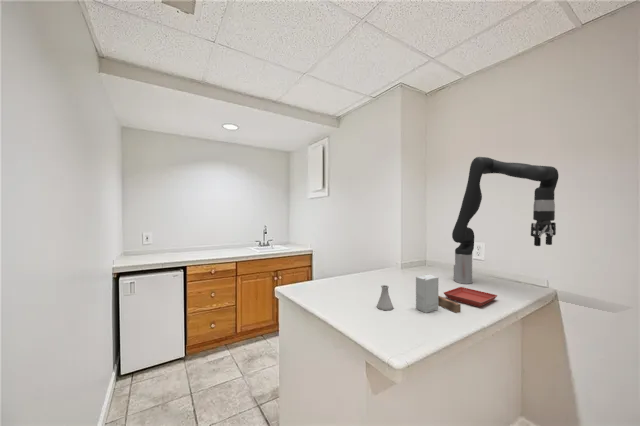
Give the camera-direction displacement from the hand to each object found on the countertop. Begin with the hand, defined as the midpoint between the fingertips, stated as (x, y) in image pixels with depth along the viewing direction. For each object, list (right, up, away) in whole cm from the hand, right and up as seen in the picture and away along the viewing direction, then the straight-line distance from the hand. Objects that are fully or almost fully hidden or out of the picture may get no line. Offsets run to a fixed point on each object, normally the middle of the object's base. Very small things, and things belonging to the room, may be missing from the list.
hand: (543, 245), depth 123 cm
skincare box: (-55, -29, -3) cm, 62 cm away
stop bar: (-46, -28, +2) cm, 54 cm away
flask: (-73, -29, -1) cm, 78 cm away
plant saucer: (-28, -28, +9) cm, 41 cm away
